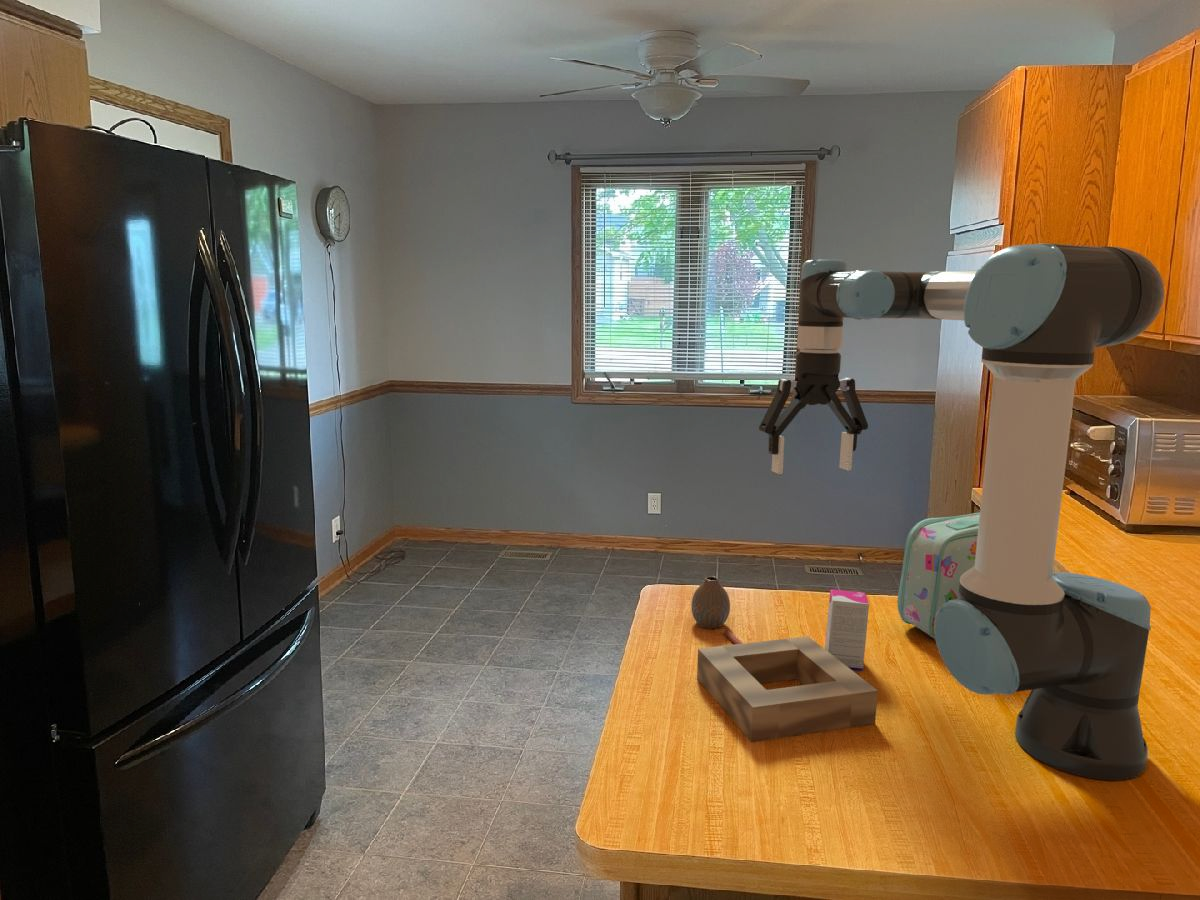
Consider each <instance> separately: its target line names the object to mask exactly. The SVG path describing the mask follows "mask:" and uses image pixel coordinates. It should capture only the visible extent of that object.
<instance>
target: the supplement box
mask: <svg viewBox="0 0 1200 900" xmlns="http://www.w3.org/2000/svg"><path fill="white" fill-rule="evenodd" d="M828 599H829V601H828V612H827V621H826V622H827V623H826V625H827V626H826V633H825V646H824V649H825V650H827V651H828V652H829V653H830V654H832V655H833V656H834V657H836V658H837V659H838V660H839V661H841V662H842V663H843V664H845V665H846V666H847V667H848V668H850V669H851V670H852V671H853V672H863V671H864V665H865V664H864V662H865V655H866V653H865V652H866V643H867V641H866V640H867V631H868V623H869V622H868V621H869V610H870V603H869V600H868V597H867V594H866V593H865V592H864V591H863V592H862V591H850V590H843V589H835V588H834V589H833V588H831V589H830V590H829V598H828Z"/></svg>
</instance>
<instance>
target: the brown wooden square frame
mask: <svg viewBox="0 0 1200 900" xmlns="http://www.w3.org/2000/svg"><path fill="white" fill-rule="evenodd" d="M742 643H743V642H742ZM696 666H697V667H696V670H697V671H696V679H697V681H699V683H700V684H701V685H702V686H703V688H704V689H705V690H706V691H707V692H708V693H709V695H710V696H711V697H712V698H713V699H714V701H716V703H717V704H718V705H719V707H720V708H721V709H722V710H723V711H724V712H725V713H726V714H727V715H728V717H729V718H730V719H731V720H732V722H733V723H734V724H735V725H736V726H737V727H738V728H739V730H740V732H742V733H743V734H744V735H745V737H746V738H747V739H748V741H750V742H751V743H752V742H760V741H765V740H773V739H780V738H787V737H793V736H800V735H806V734H814V733H820V732H821V733H822V732H827V731H828V732H829V731H834V730H841V729H848V728H855V727H862V726H868V725H875V724H876V719H877V705H878V694H879V693H878V691H879V690H878V689H877V688H875V687H874V686H873V685H872V684H870V683H868V681H867V680H866V679H864V678H862V677H861V676H860V675H858V674H857V672H856V671H852V670H851V669H850V668H848V667H847V666H846V665H845V664H843V663H842V662H841V661H839V660H838V659H837V658H836V657H834V656H833V655H832V654H830V653H829V652H828V651H827V650H825V647H823V646H821V645H820V644H819V642H818V643H817V642H816V641H815V640H814V639H812V638H811V637H810V636H798V637H789V638H782V639H772V640H764V641H754V642H746V643H745V642H744V643H743V644H735V643H734V644H727V645H718V646H717V645H716V646H708V647H700V648H697V665H696ZM792 680H794V681H795V680H797V681H798V682H799V683H801V685H794V686H787V687H779V688H772V689H766V688H765V687H764V686H763V684H770V683H775V682H785V681H792Z"/></svg>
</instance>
